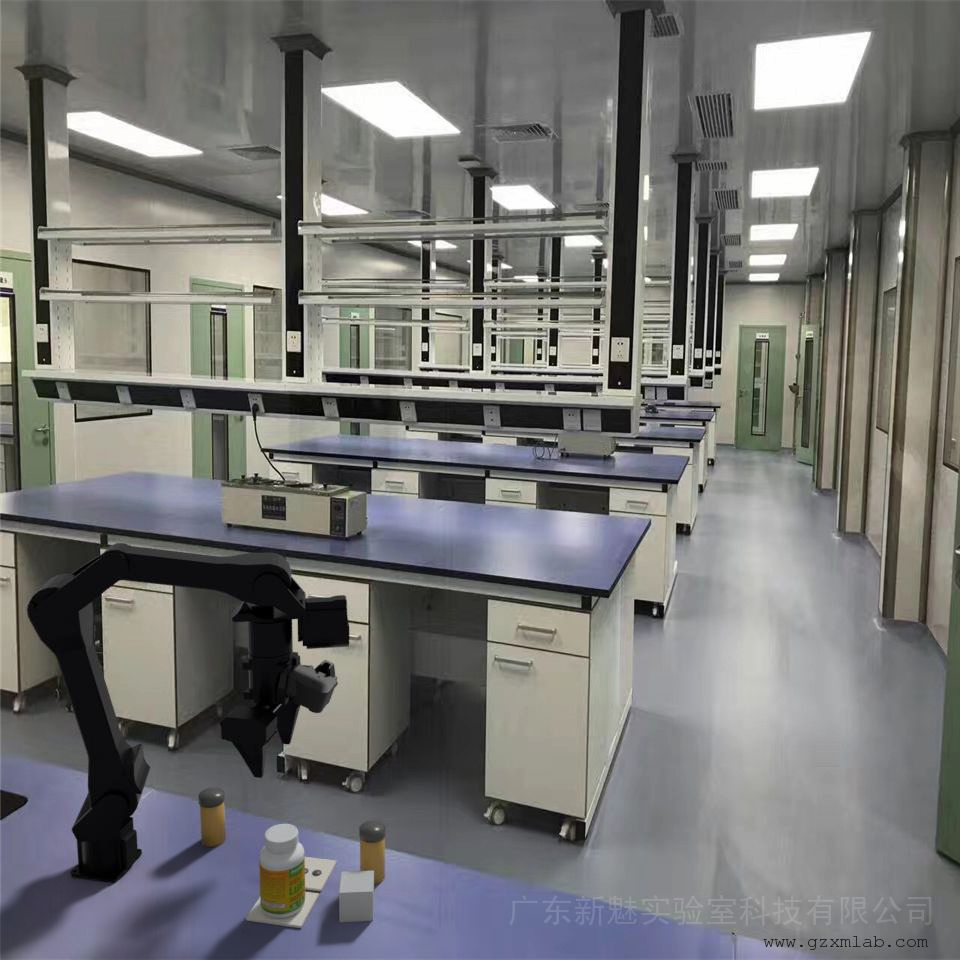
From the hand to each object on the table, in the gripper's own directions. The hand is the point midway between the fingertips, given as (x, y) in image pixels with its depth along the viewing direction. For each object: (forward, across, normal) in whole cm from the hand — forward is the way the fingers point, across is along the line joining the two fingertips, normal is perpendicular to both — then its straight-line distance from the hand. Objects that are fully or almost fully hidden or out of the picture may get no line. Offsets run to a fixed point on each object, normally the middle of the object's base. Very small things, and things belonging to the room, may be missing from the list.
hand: (273, 759), depth 113 cm
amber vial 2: (+13, -4, -15) cm, 20 cm away
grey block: (+13, -10, -15) cm, 22 cm away
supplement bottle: (+13, -11, -6) cm, 18 cm away
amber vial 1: (+13, 0, +9) cm, 16 cm away
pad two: (+13, -11, -6) cm, 18 cm away
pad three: (+13, -5, -6) cm, 15 cm away
